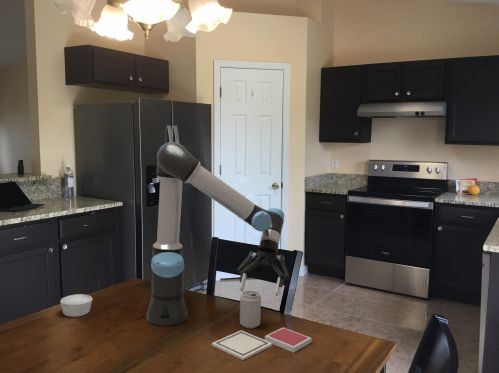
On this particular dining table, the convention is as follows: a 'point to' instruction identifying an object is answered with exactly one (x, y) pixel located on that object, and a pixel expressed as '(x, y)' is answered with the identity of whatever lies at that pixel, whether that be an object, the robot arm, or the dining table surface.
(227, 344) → the marked board
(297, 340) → the ink pad
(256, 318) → the can
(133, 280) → the dining table surface
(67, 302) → the ramekin
